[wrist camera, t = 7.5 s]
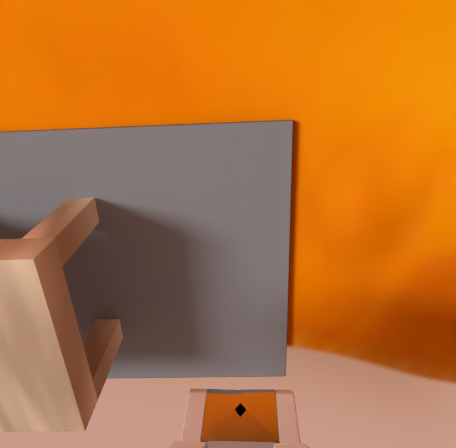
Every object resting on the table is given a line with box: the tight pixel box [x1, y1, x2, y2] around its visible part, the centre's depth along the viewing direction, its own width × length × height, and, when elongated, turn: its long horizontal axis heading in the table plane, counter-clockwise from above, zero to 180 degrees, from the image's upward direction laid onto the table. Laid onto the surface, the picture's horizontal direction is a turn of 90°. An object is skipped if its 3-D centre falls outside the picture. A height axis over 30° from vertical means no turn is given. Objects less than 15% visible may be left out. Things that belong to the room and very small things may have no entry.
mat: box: [0, 120, 293, 378], centre depth 19 cm, size 20×14×1 cm
